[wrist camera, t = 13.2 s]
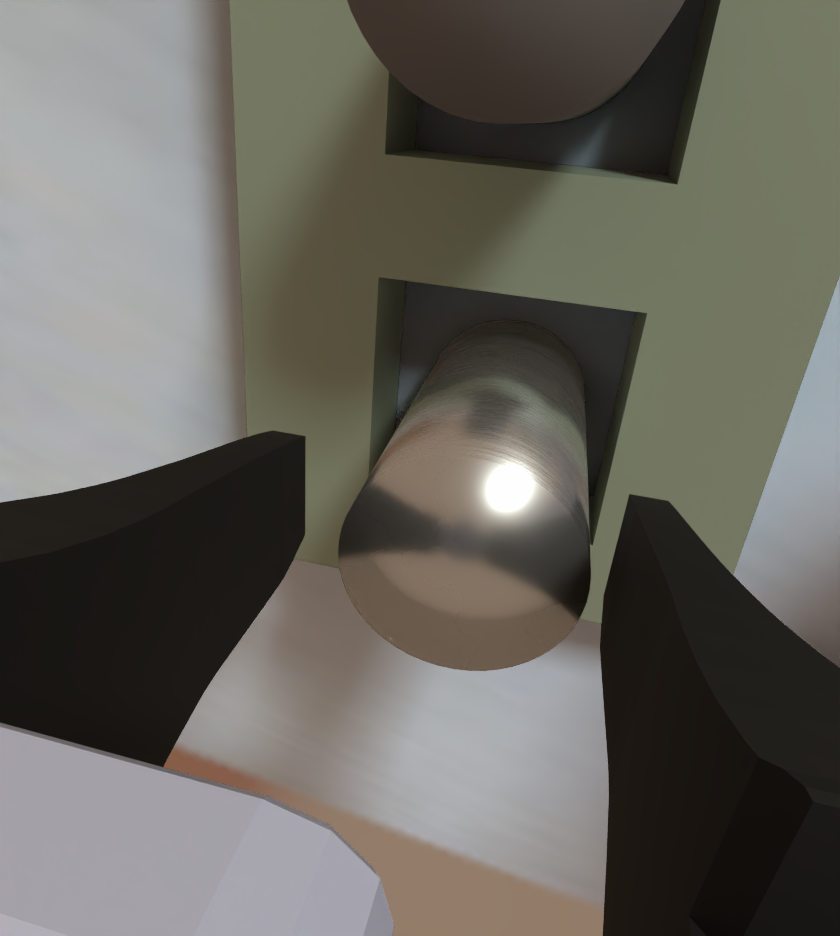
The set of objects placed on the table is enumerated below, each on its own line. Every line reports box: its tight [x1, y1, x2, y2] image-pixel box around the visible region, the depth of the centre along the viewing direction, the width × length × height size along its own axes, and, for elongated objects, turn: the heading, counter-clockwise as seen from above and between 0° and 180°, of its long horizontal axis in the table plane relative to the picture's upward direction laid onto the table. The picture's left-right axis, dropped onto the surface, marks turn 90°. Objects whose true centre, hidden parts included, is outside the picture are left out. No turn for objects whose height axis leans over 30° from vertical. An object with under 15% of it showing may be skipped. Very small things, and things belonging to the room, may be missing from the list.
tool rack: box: [229, 0, 840, 624], centre depth 12 cm, size 12×18×8 cm, turn 174°
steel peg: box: [338, 320, 591, 671], centre depth 14 cm, size 4×4×8 cm
